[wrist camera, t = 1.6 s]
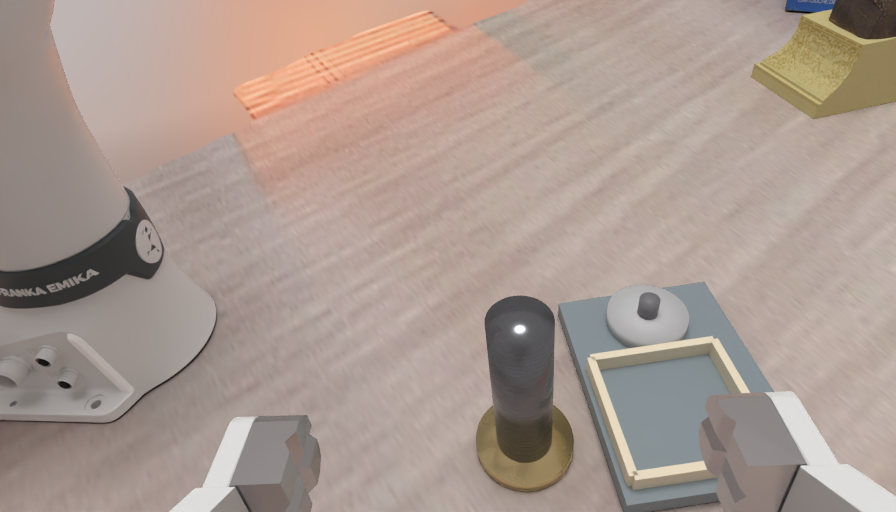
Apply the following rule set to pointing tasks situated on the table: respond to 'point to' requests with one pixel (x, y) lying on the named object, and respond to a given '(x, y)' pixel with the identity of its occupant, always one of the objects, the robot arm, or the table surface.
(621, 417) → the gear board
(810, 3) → the toner cartridge box
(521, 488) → the stamp
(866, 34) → the thinker statue
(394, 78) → the table surface
